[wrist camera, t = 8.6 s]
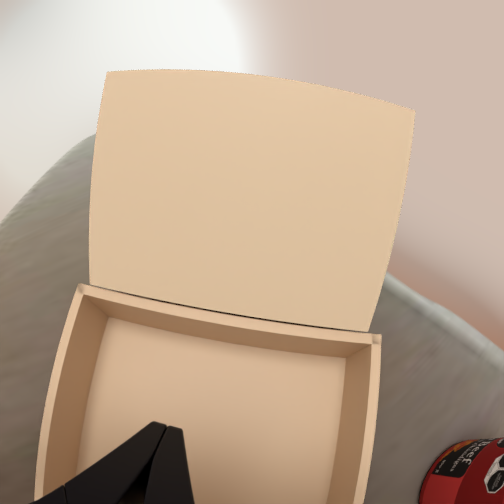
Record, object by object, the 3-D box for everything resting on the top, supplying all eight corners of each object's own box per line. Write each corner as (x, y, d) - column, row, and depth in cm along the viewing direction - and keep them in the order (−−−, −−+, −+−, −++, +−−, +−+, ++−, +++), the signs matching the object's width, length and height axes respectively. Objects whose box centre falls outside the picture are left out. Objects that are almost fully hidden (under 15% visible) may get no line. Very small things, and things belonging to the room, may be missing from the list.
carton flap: (415, 110, 13) (411, 112, 13) (107, 71, 13) (111, 73, 14) (367, 331, 16) (365, 327, 16) (90, 284, 16) (94, 281, 17)
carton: (319, 554, 13) (341, 583, 9) (69, 504, 13) (34, 518, 9) (351, 352, 21) (381, 334, 16) (106, 309, 21) (78, 283, 17)
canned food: (488, 432, 17) (587, 415, 7) (477, 512, 13) (567, 522, 3) (423, 447, 17) (532, 445, 7) (407, 535, 13) (499, 573, 3)
